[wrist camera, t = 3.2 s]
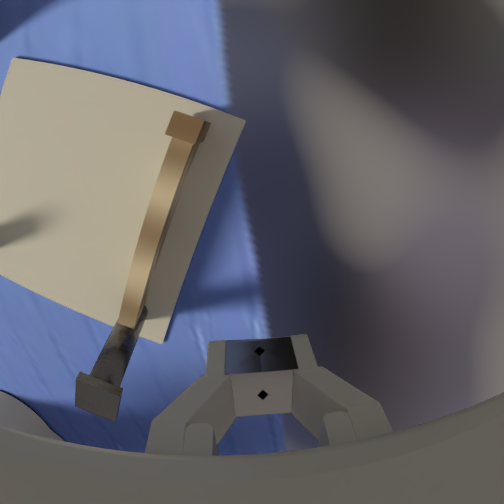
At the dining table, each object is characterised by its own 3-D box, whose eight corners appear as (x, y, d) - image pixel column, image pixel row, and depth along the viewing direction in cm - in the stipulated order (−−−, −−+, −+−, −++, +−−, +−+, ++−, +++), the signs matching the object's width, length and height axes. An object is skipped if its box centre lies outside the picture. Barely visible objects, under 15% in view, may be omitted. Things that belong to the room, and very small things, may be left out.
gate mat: (162, 342, 32) (162, 344, 32) (-20, 261, 27) (-22, 262, 27) (246, 120, 25) (246, 120, 24) (15, 58, 20) (12, 57, 20)
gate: (148, 303, 29) (132, 340, 24) (129, 295, 29) (109, 331, 23) (211, 123, 24) (204, 120, 18) (187, 114, 23) (174, 110, 18)
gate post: (148, 325, 31) (115, 421, 19) (119, 315, 31) (75, 406, 19) (155, 301, 30) (120, 396, 18) (125, 289, 30) (76, 378, 18)
